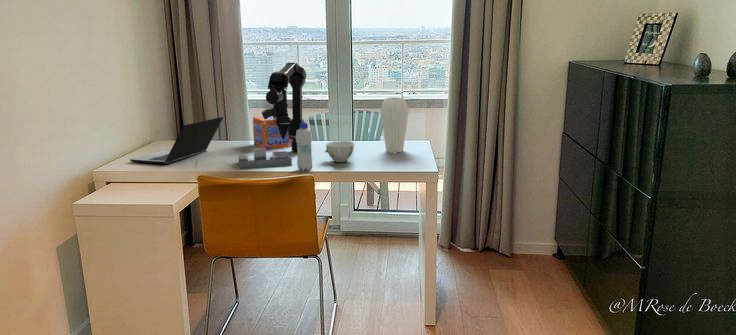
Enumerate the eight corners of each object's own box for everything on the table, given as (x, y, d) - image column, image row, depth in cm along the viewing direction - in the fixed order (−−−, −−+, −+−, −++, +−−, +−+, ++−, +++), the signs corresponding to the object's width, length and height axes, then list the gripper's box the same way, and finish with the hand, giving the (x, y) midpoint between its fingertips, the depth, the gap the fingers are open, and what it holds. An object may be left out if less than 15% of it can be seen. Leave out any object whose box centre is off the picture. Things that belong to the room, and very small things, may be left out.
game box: (253, 146, 280) (252, 117, 277) (282, 144, 288) (280, 115, 285) (263, 151, 267) (262, 120, 264) (293, 148, 275) (291, 118, 271)
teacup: (327, 158, 250) (327, 141, 248) (354, 158, 249) (354, 141, 248) (324, 165, 235) (324, 147, 233) (353, 164, 235) (352, 146, 233)
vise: (289, 158, 248) (289, 150, 247) (294, 165, 235) (293, 156, 234) (238, 162, 242) (238, 153, 241) (240, 168, 229) (239, 159, 228)
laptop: (173, 150, 274) (170, 114, 270) (226, 154, 263) (224, 116, 259) (129, 162, 247) (125, 122, 242) (187, 166, 236) (183, 124, 232)
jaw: (285, 159, 247) (285, 151, 246) (289, 164, 236) (288, 155, 236) (272, 160, 245) (272, 151, 244) (275, 165, 235) (274, 156, 234)
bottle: (307, 167, 231) (305, 121, 226) (316, 169, 225) (314, 122, 221) (293, 169, 227) (292, 122, 222) (302, 172, 221) (300, 124, 217)
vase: (399, 149, 270) (400, 96, 264) (413, 153, 258) (413, 98, 253) (376, 151, 264) (375, 97, 259) (388, 156, 253) (388, 100, 247)
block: (265, 162, 241) (264, 147, 240) (266, 164, 237) (265, 149, 235) (254, 163, 240) (253, 148, 238) (255, 165, 236) (254, 149, 234)
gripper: (260, 100, 242) (262, 134, 246) (263, 104, 224) (265, 141, 228) (285, 99, 245) (287, 132, 248) (289, 103, 227) (291, 140, 231)
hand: (282, 136), depth 239 cm, fingers open, 9 cm apart
